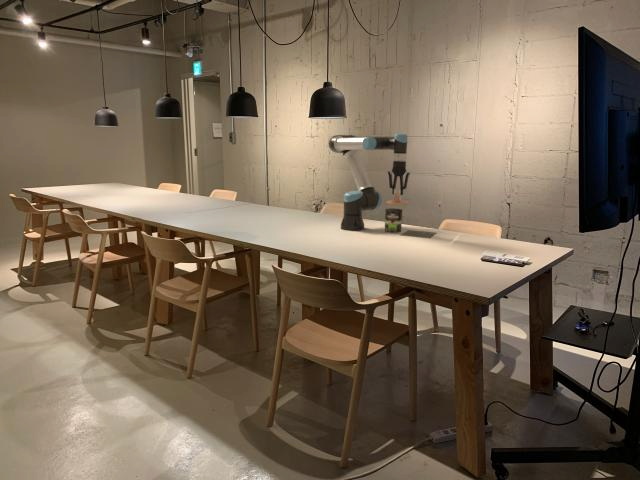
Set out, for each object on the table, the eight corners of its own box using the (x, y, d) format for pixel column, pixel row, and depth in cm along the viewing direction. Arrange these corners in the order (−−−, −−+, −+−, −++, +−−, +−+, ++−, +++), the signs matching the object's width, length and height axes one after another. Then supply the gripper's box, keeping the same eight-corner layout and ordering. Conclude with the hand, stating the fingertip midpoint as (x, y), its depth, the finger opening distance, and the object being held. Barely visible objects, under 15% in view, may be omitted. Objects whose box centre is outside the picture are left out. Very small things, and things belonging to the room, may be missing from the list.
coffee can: (400, 234, 284) (401, 211, 281) (383, 233, 287) (384, 210, 284) (402, 231, 294) (403, 208, 291) (385, 230, 296) (386, 208, 293)
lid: (383, 203, 283) (383, 193, 282) (389, 201, 295) (390, 191, 293) (404, 205, 278) (405, 195, 276) (410, 202, 289) (411, 193, 288)
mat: (399, 236, 279) (399, 235, 279) (408, 230, 295) (408, 230, 295) (430, 239, 272) (430, 238, 272) (437, 233, 288) (437, 232, 288)
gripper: (385, 160, 280) (383, 199, 286) (410, 161, 274) (408, 202, 279) (388, 159, 287) (386, 198, 292) (414, 160, 280) (411, 200, 286)
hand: (397, 200), depth 286 cm, fingers closed on lid, 2 cm apart
